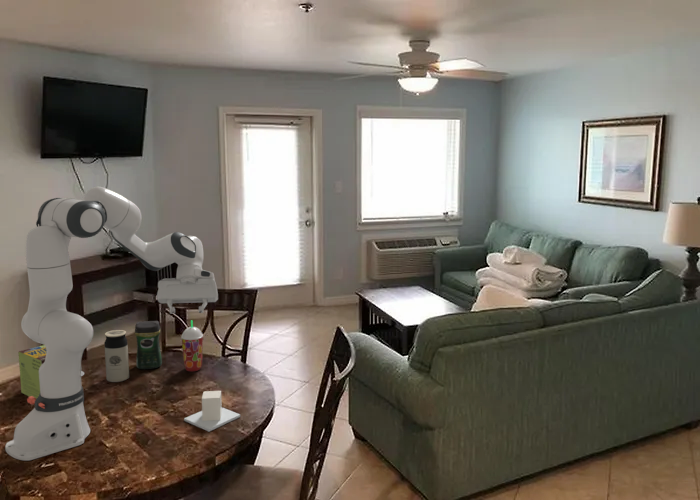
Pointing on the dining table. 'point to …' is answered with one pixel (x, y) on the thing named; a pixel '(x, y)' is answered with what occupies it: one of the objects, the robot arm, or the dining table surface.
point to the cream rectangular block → (211, 405)
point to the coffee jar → (148, 345)
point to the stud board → (212, 424)
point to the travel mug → (116, 356)
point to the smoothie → (192, 348)
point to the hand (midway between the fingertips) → (186, 312)
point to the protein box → (31, 369)
